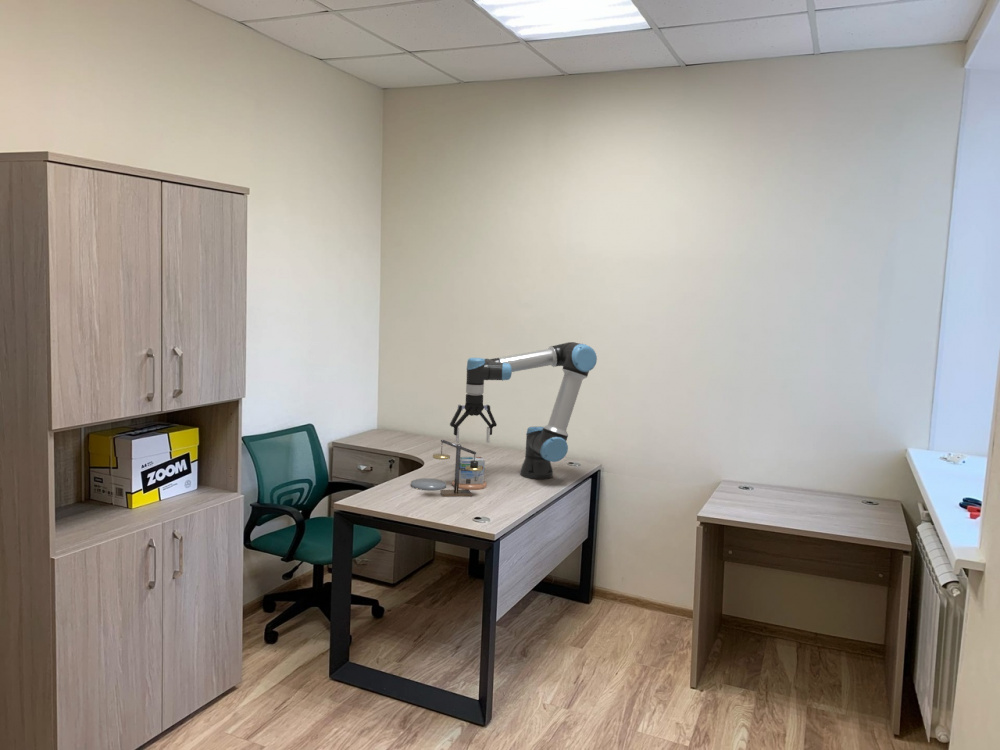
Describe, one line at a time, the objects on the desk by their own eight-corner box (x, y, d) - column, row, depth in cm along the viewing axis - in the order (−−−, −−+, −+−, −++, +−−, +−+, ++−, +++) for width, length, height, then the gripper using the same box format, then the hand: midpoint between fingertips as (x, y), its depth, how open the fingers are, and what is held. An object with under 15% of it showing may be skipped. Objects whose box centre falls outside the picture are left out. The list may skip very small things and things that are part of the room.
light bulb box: (459, 484, 328) (461, 460, 327) (456, 480, 335) (457, 456, 334) (484, 484, 331) (485, 460, 330) (480, 480, 338) (481, 456, 337)
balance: (478, 491, 324) (481, 437, 321) (482, 496, 317) (485, 441, 314) (429, 492, 318) (432, 437, 315) (432, 497, 311) (435, 441, 309)
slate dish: (442, 481, 338) (442, 478, 337) (449, 490, 323) (449, 487, 323) (408, 481, 333) (408, 478, 333) (413, 490, 319) (414, 487, 319)
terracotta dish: (481, 480, 342) (482, 477, 342) (490, 489, 328) (490, 486, 328) (448, 480, 338) (449, 478, 338) (456, 490, 324) (456, 487, 324)
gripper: (500, 392, 336) (498, 440, 338) (444, 392, 329) (442, 441, 331) (505, 395, 328) (502, 444, 331) (447, 395, 322) (446, 444, 324)
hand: (472, 442), depth 331 cm, fingers open, 13 cm apart
